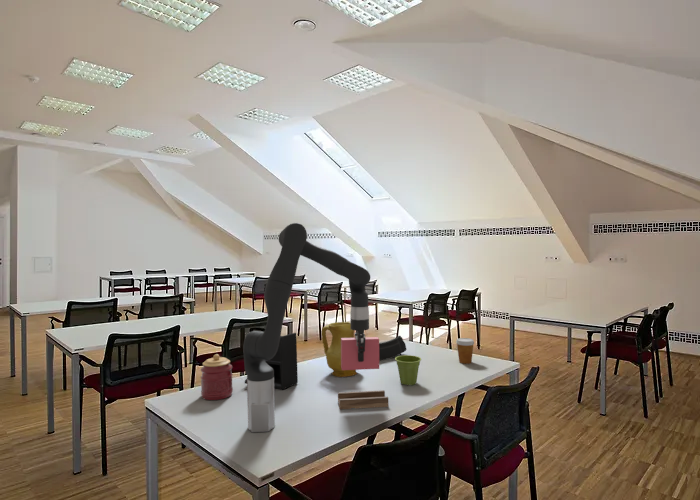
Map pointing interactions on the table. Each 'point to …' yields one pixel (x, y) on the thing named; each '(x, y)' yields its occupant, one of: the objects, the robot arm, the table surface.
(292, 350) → the bookend
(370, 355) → the book
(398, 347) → the magazine
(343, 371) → the pitcher
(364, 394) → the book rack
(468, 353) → the disposable coffee cup
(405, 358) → the plant pot
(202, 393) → the canister
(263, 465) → the table surface
